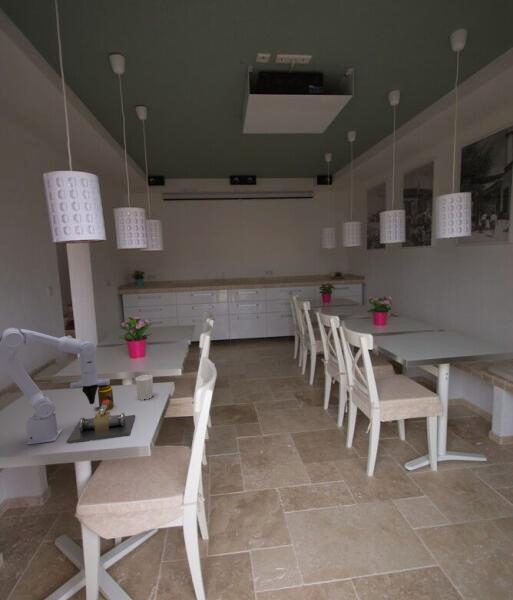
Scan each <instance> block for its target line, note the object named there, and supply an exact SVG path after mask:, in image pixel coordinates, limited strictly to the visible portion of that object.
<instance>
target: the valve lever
mask: <svg viewBox="0 0 513 600" xmlns="http://www.w3.org/2000/svg"><path fill="white" fill-rule="evenodd" d="M108 406H109V400H105V401H103V402H102V406H101V407H100V408H99V409H98V412H99V414H103V413H105V412H106V411H105V410H106V408H107V407H108Z"/></svg>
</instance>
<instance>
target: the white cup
mask: <svg viewBox="0 0 513 600" xmlns="http://www.w3.org/2000/svg"><path fill="white" fill-rule="evenodd" d="M134 380H135V386H136V392H137V393H136V394H137V399H138V398H139V399H141V400H140V401H145V400H144V399H148V400H150V399H152V398H153V397H152V396H154V382H153V381H154V380H153V375H151V374H143V375H139V376H137V377H135V379H134ZM151 397H152V398H151ZM149 398H150V399H149ZM139 399H138V400H139ZM142 399H143V400H142Z"/></svg>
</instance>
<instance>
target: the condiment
mask: <svg viewBox="0 0 513 600" xmlns="http://www.w3.org/2000/svg"><path fill="white" fill-rule="evenodd" d="M97 396H98V397H97V398H98V406H95V407H93V411H94V413H95V415H96V414H97V413H99V412H98V409H99V408H100V407H101V406H102V402H103V401H105V400H109V406H108V407H107V408H106V410H105V412H111V411H113V410H116V409H117V407H116V406H115V404H114V403H115V402H114V394H113V387H112V382H111V381H110V384H109V385H99V386H98V388H97Z"/></svg>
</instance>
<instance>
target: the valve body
mask: <svg viewBox="0 0 513 600" xmlns="http://www.w3.org/2000/svg"><path fill="white" fill-rule="evenodd" d="M135 420H136V414H131V415H125V412H121V413H120V414H117V415H111V411H105V413H103V414H99V413H97V414H96V413H95V416H94V417H92V418H85V417H81V418H80V419H79V421H78V423H77V424H76V425H75V426H74V427H75V428H74V429H73V431H72V432H71V434H70V435H69V436H68V438H67V440H66V444H67V443H69V444H74V443H75V442H76V443H83V442H90V440H92V441H98V440H105V439H114V438H120V437H128V436H131V432H132V429H133V426H134V423H135Z"/></svg>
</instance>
